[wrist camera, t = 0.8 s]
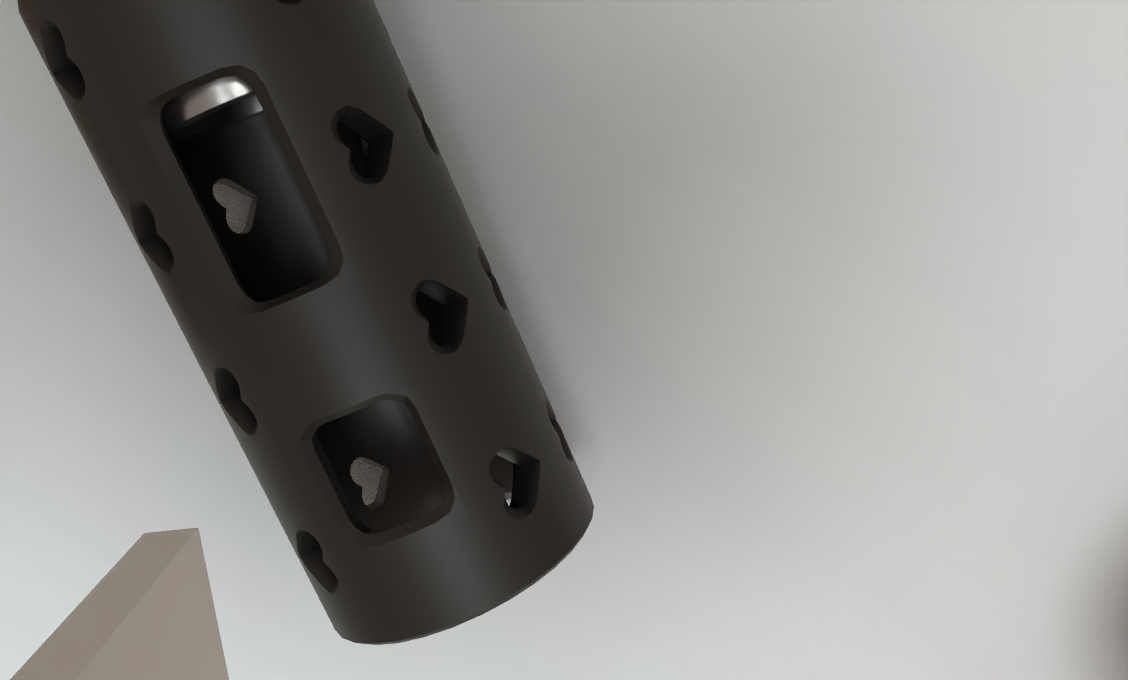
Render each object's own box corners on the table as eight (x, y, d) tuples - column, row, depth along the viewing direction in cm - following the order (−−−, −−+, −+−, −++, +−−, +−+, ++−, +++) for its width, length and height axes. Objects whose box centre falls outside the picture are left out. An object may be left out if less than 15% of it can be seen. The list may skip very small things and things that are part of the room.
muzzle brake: (361, 542, 40) (294, 695, 30) (-13, -213, 34) (-256, -344, 24) (597, 448, 39) (611, 572, 29) (256, -341, 33) (123, -533, 23)
